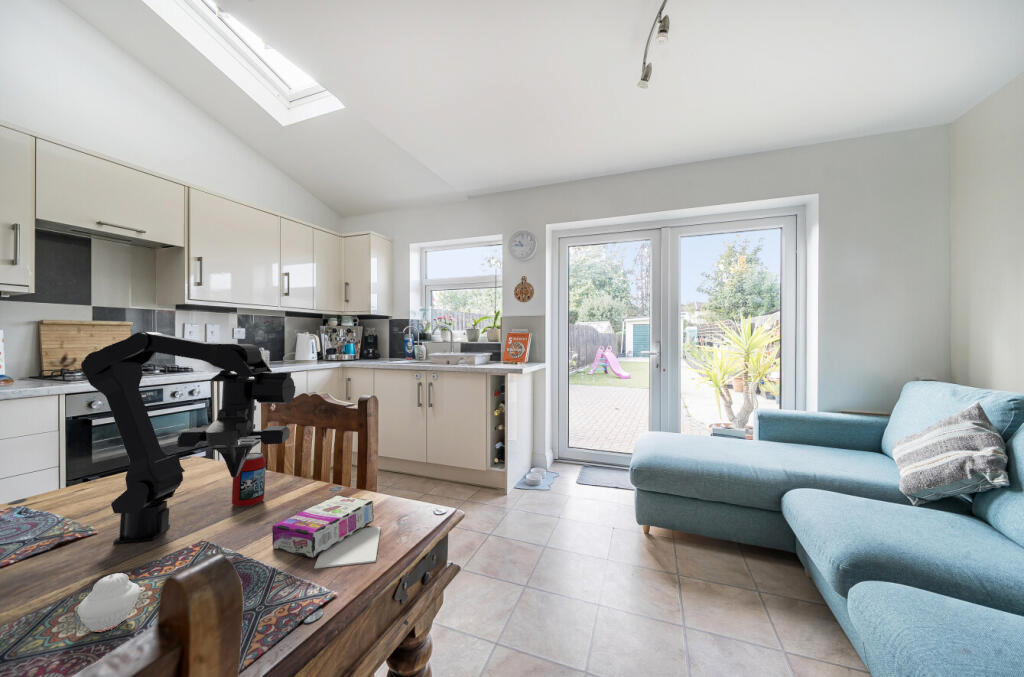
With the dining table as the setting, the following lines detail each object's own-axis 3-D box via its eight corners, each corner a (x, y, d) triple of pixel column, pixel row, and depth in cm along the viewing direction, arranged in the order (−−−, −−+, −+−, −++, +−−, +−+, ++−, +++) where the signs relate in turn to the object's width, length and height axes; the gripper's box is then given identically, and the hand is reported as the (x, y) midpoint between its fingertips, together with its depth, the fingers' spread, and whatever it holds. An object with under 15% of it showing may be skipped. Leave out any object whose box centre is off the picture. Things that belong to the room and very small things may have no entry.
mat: (314, 568, 69) (314, 566, 69) (329, 532, 83) (329, 530, 83) (375, 562, 72) (375, 560, 72) (380, 527, 85) (380, 526, 85)
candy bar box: (312, 560, 71) (374, 521, 86) (312, 533, 71) (374, 499, 86) (271, 550, 75) (337, 515, 91) (270, 524, 75) (337, 493, 91)
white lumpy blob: (65, 633, 52) (69, 581, 52) (124, 606, 58) (127, 559, 58) (90, 647, 50) (93, 593, 50) (148, 617, 56) (151, 568, 56)
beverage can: (247, 510, 92) (250, 460, 92) (224, 507, 93) (226, 457, 94) (270, 499, 99) (272, 453, 99) (248, 497, 100) (250, 450, 100)
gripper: (162, 409, 71) (157, 494, 71) (275, 408, 76) (271, 487, 75) (194, 401, 82) (190, 474, 81) (291, 400, 87) (288, 470, 86)
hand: (234, 476), depth 81 cm, fingers closed
